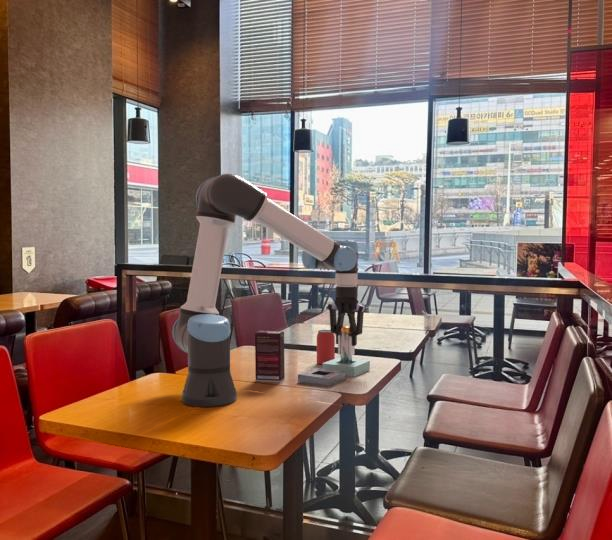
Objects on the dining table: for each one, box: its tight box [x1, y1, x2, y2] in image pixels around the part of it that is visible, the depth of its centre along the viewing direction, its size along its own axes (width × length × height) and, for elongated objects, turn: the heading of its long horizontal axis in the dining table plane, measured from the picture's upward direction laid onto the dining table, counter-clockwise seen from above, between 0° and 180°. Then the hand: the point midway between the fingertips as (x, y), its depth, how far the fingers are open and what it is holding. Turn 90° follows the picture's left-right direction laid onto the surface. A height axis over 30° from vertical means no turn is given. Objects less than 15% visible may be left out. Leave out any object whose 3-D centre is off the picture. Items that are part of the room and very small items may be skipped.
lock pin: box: [339, 325, 353, 364], centre depth 198 cm, size 4×4×14 cm
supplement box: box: [254, 330, 286, 384], centre depth 185 cm, size 9×5×16 cm, turn 76°
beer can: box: [316, 329, 336, 365], centre depth 213 cm, size 7×7×12 cm
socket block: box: [321, 356, 371, 378], centre depth 198 cm, size 12×12×4 cm
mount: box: [297, 367, 346, 388], centre depth 184 cm, size 11×11×3 cm
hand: (346, 354), depth 198 cm, fingers closed on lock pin, 3 cm apart
